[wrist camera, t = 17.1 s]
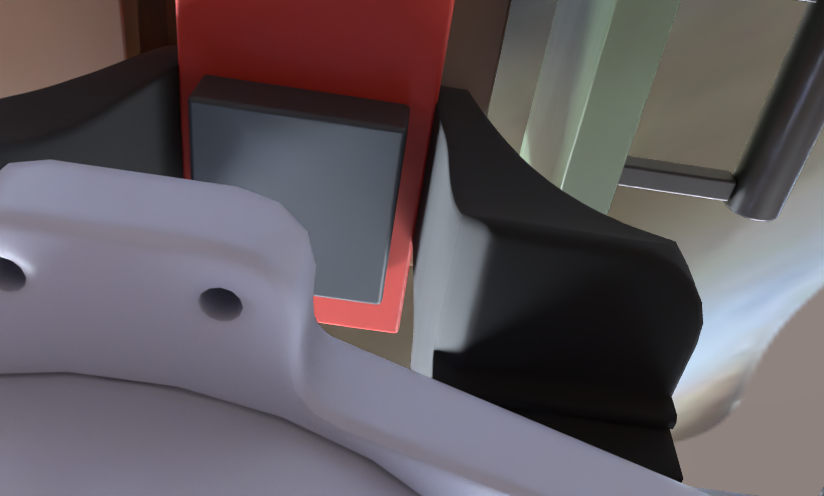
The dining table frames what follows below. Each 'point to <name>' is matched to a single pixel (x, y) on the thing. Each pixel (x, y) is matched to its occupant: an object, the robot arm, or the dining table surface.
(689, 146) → the dining table surface
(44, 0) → the cabinet
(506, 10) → the drawer
